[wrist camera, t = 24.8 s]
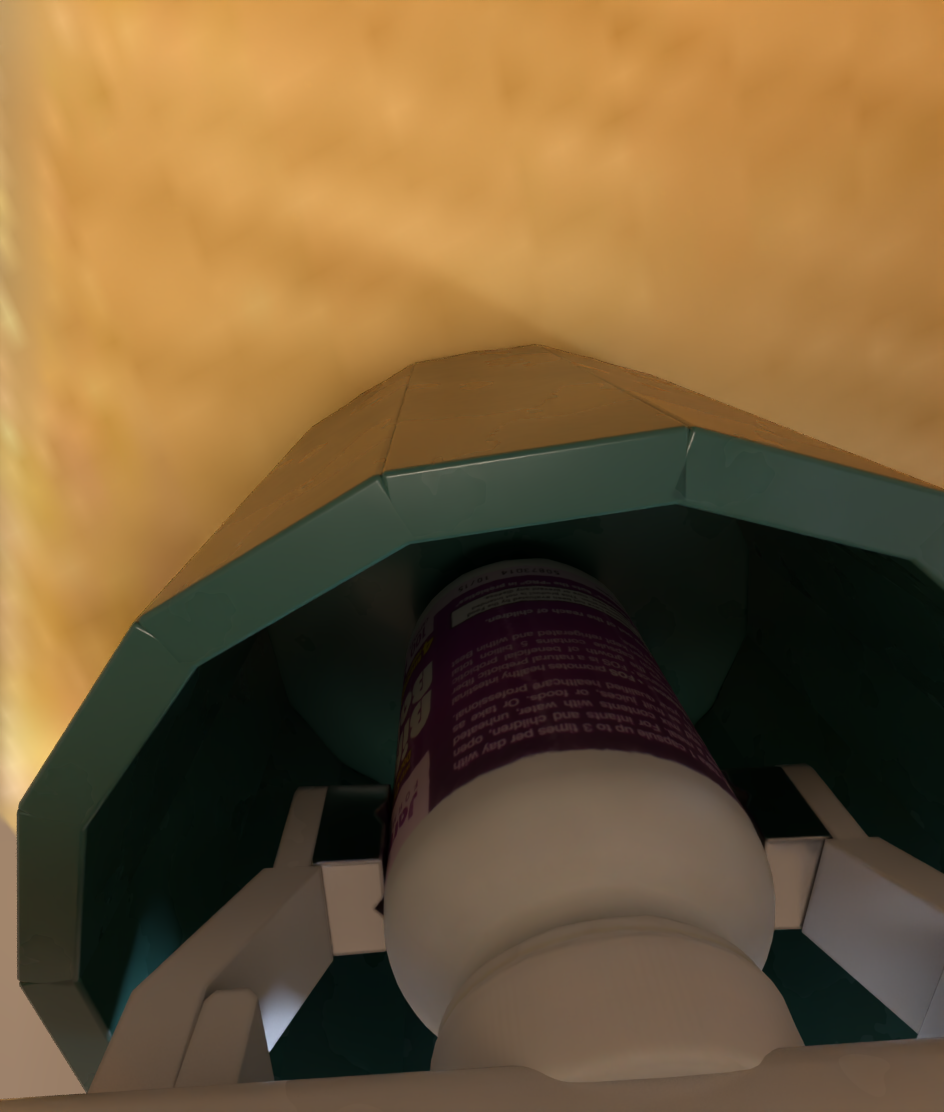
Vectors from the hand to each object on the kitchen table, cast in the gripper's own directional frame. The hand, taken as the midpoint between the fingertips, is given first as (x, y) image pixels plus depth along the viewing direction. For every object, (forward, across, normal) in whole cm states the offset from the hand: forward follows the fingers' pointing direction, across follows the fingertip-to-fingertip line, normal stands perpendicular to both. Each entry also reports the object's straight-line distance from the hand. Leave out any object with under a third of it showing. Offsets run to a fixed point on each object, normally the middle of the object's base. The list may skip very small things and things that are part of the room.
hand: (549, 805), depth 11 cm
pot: (+7, 0, 0) cm, 7 cm away
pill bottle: (+5, 0, 0) cm, 5 cm away
